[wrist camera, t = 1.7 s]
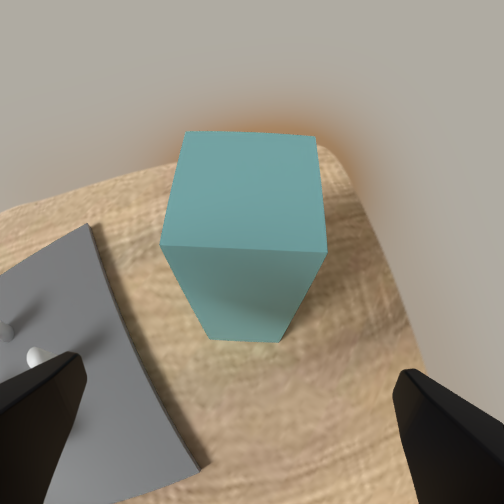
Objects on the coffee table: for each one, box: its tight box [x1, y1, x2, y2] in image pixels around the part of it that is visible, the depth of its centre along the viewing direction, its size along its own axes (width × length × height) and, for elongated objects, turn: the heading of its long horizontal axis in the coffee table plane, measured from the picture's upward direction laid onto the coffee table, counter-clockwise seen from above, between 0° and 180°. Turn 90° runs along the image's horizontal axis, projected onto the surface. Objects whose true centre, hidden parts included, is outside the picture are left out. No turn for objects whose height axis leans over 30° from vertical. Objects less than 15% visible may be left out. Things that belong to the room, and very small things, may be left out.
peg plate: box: [0, 223, 201, 504], centre depth 15 cm, size 20×20×4 cm
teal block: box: [159, 131, 328, 343], centre depth 15 cm, size 4×4×13 cm
